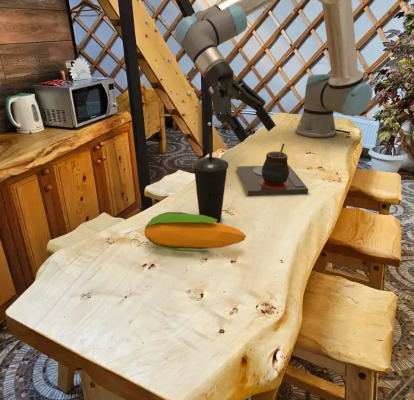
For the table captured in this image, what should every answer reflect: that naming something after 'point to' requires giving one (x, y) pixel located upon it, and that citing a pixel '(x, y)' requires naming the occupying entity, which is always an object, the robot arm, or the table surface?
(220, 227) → the corn
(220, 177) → the drinking cup
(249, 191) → the hob
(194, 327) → the table surface
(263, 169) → the mate gourd
